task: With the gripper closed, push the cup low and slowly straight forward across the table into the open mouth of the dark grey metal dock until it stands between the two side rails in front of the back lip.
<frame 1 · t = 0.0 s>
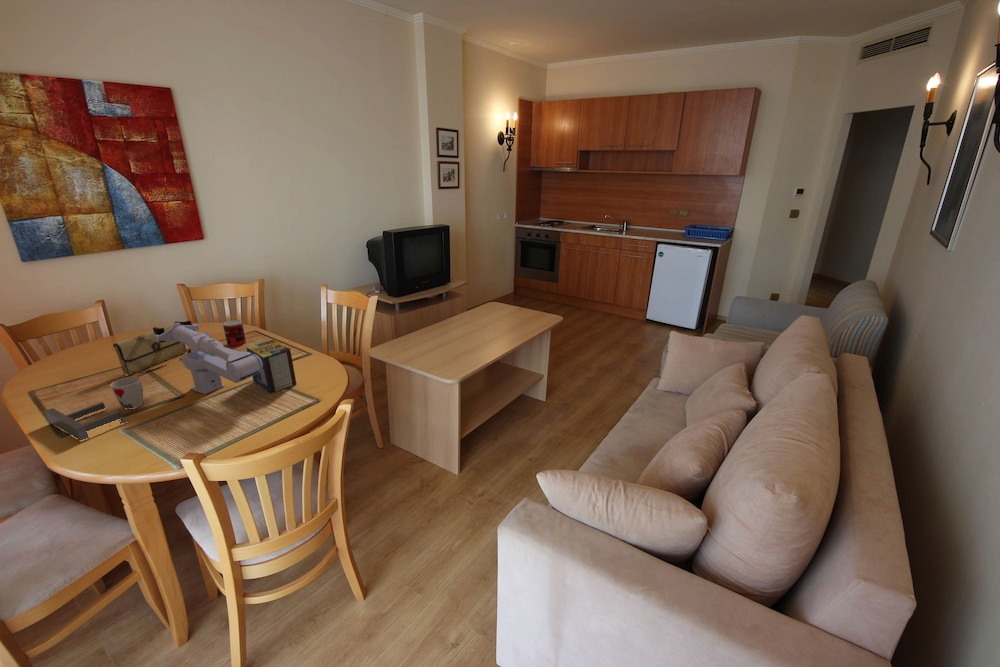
hand: (165, 327, 170), 22 cm above the table, tool horizontal, fingers open, 7 cm apart
protein box: (275, 383, 173), on the table
dock: (94, 421, 146), on the table
cup: (134, 406, 155), on the table
clutch purse: (162, 364, 188), on the table
canned food: (237, 344, 210), on the table
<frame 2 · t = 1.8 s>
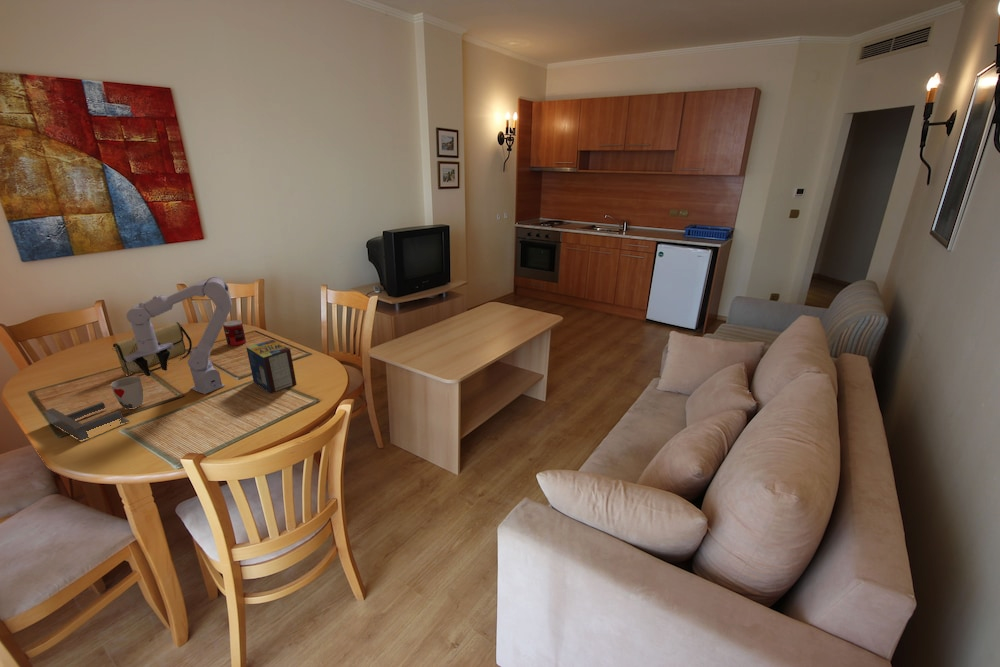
hand: (156, 372, 160), 9 cm above the table, tool pointing down, fingers open, 5 cm apart
nothing on the table moved.
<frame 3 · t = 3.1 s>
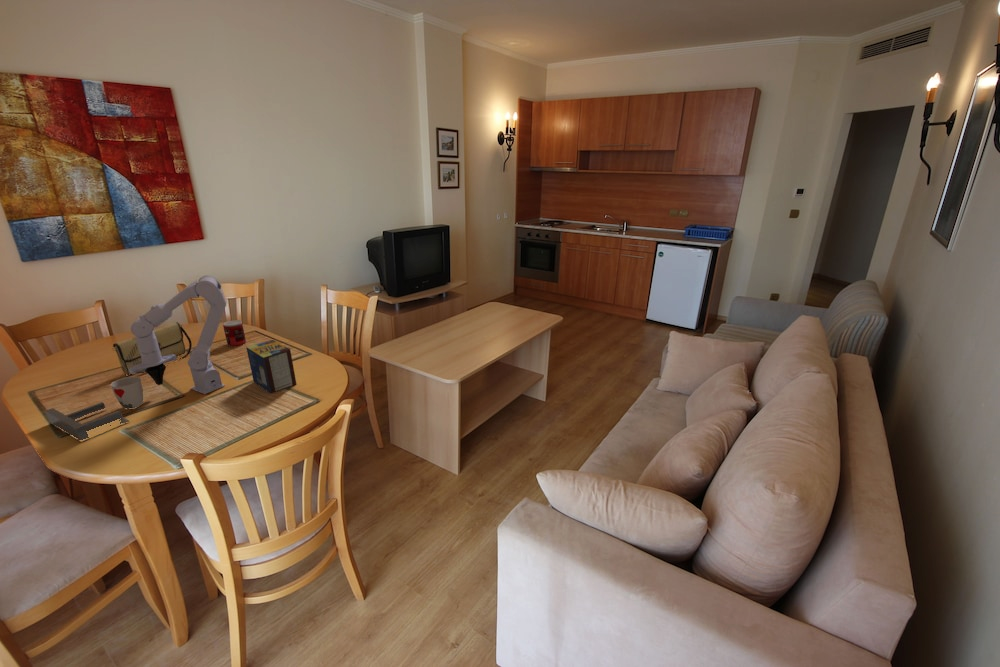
hand: (159, 383, 161), 5 cm above the table, tool pointing down, fingers closed
nothing on the table moved.
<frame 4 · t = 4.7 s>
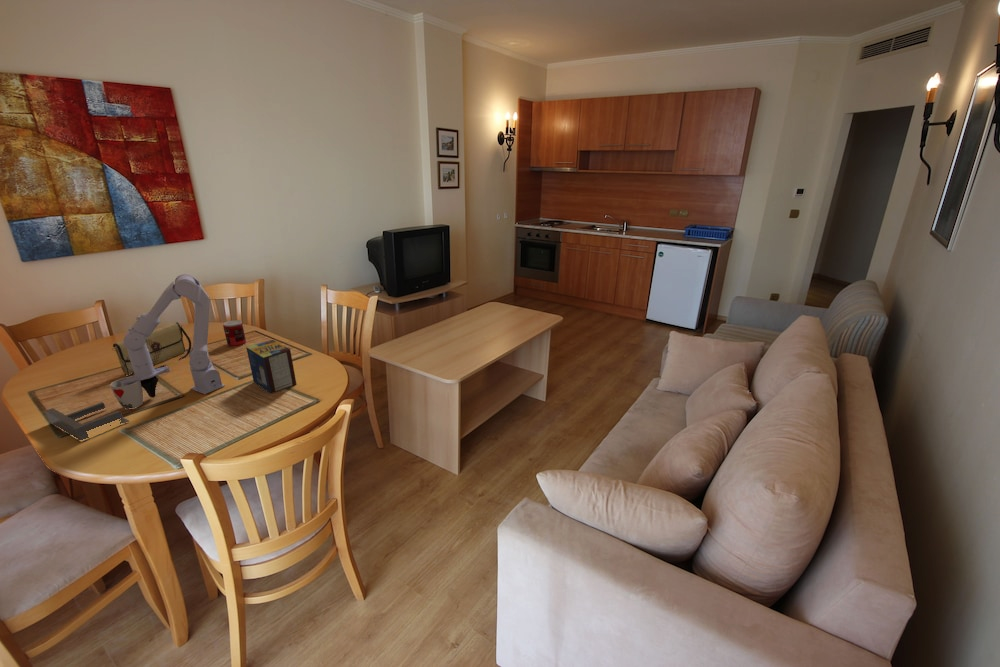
hand: (152, 396, 160), 1 cm above the table, tool pointing down, fingers closed
cup: (134, 406, 155), on the table, touching gripper
everything else where it was.
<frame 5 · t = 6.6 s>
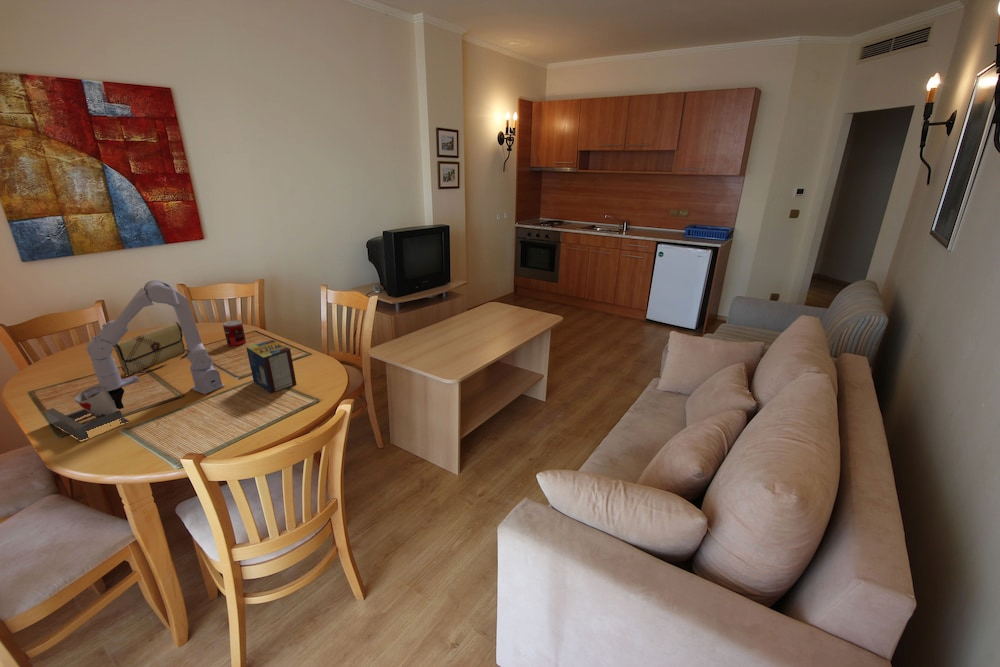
hand: (119, 408, 152), 1 cm above the table, tool pointing down, fingers closed, pressing on cup
cup: (109, 414, 149), on the table, touching gripper
everything else where it was.
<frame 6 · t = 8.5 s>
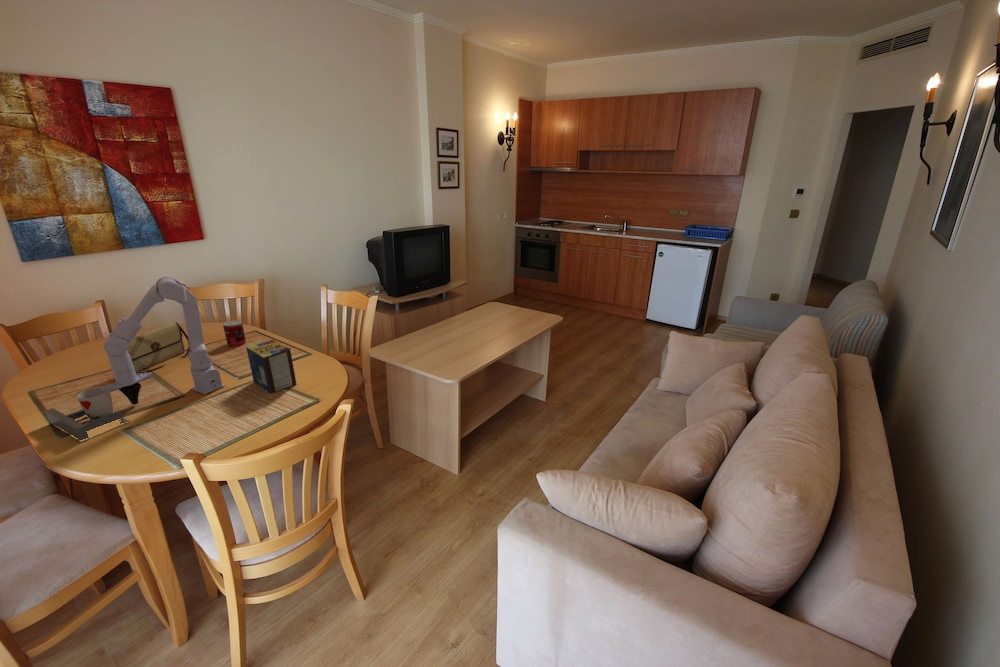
hand: (134, 403, 155), 1 cm above the table, tool pointing down, fingers closed
cup: (103, 418, 148), on the table
everything else where it was.
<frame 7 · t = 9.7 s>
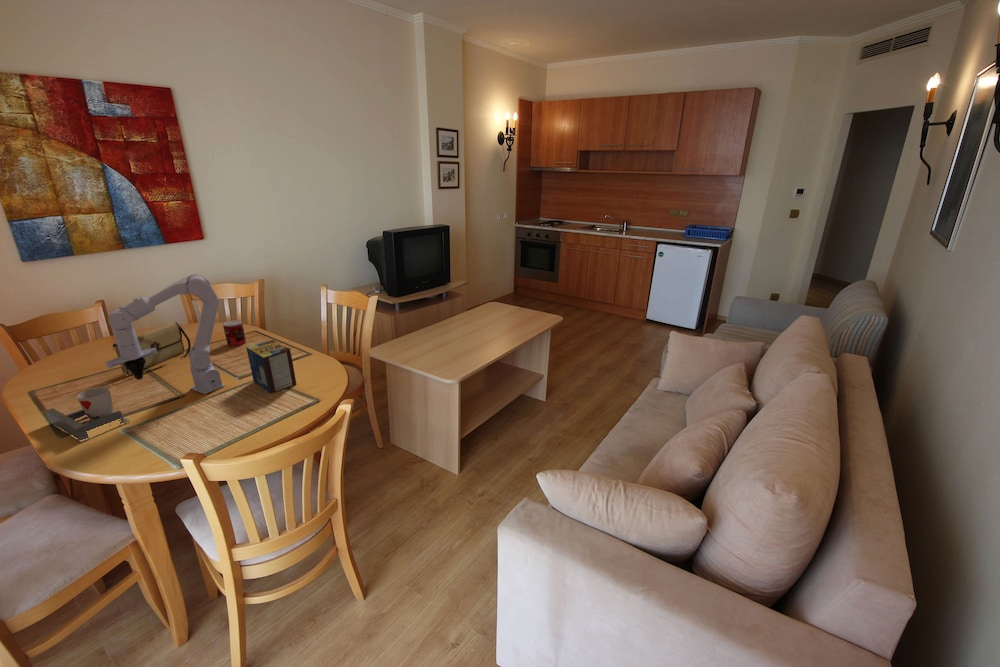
hand: (139, 378, 155), 9 cm above the table, tool pointing down, fingers closed
nothing on the table moved.
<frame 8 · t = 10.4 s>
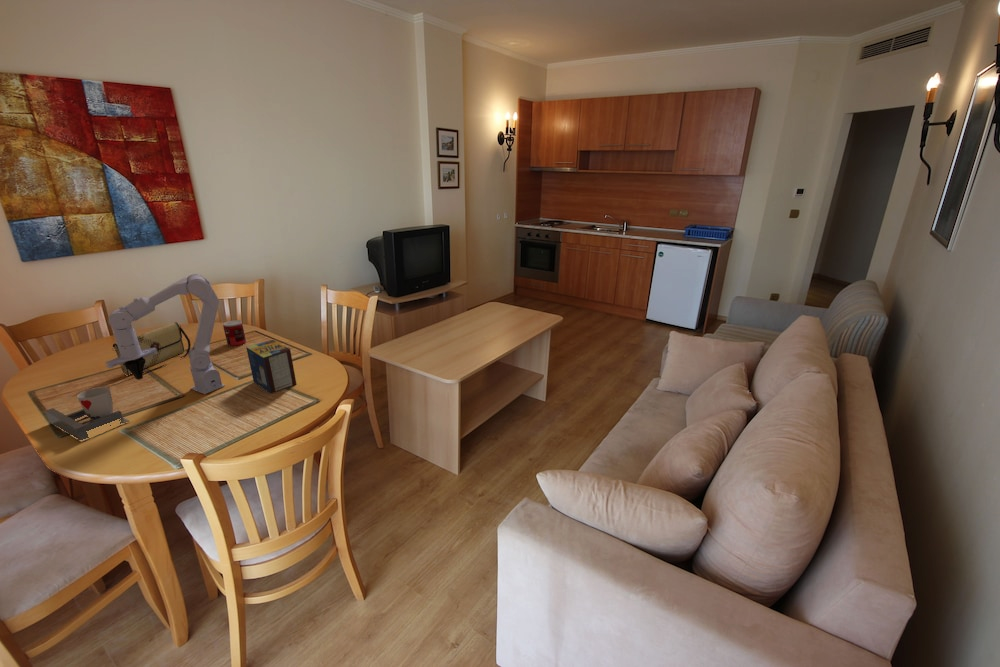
hand: (139, 378, 155), 9 cm above the table, tool pointing down, fingers closed
nothing on the table moved.
at the end: cup inside the target area (2.6 cm from its centre), on the table; cup tilted 1° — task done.
